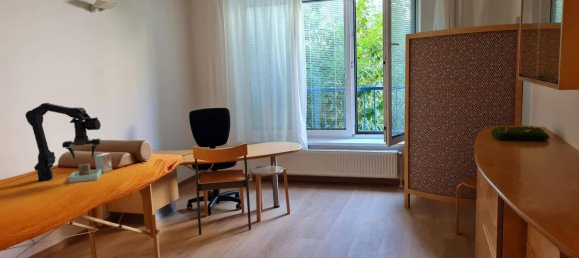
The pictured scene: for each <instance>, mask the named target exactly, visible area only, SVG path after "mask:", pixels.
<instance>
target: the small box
mask: <svg viewBox="0 0 579 258" xmlns="http://www.w3.org/2000/svg"><path fill="white" fill-rule="evenodd" d="M94 164H95V170H98V169H101V174H106V173H108V172H112V171H113V163H112V154H111V152H110V153H107V152H105V153H100V154H97V155H94ZM111 170H112V171H111Z"/></svg>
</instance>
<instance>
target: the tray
mask: <svg viewBox="0 0 579 258" xmlns="http://www.w3.org/2000/svg"><path fill="white" fill-rule="evenodd" d="M90 171H91V175H84V176H79V170H78V171H73V172H72V173H71V174H70V175H69V176H68V177H67V178H68V180H67V181H68V183H69V184H71V183H80V182H81V183H82V182H89V181H98V180H99V178H101V176H100V175H102V173H101V169H98V170H96V169H90Z"/></svg>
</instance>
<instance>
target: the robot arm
mask: <svg viewBox="0 0 579 258" xmlns="http://www.w3.org/2000/svg"><path fill="white" fill-rule="evenodd" d="M48 112H52V113H57V114H62V115H66V116H67V117H69V118H71V120H70V121H69V123H70V124H73V126H74V127H73V129H74V139H73V141H72V140H66V141H63V142H62V143H61V145H62V146H61V147H62V148H64V149H66V150H68V151H69V152H70V154H71V156H72V157H73V160H76V155H75V154H76V153H75V148H74V146H77V147H78V146H84V145H91V158H93V159H94V157H95V151H96V149H97V147H98V146H99V145H101V143H102V139H101V138H92V139H91V140H90V138H89V136H88V133H87V131H97V130H98V131H99V130H100V129H101V122H100V120H99V118H98V117H91V116H90V115H89V114H88V113H87V111H86V109H85V108H84V107H69V106H63V105H60V104H59V105H58V104H54V103H50V102H43V103H41V104H39V106H36V107H35V108H33V109H30V110H27V111H26V113H25V118H26V121H27V123H28V124H29V126H31V128H32V132H33V135H34V138H35V142H36V146H37V149H38V155H37V163H36V164H35V165H34V168H33V169H34V170H35V171H36V173H37V178H38V179H37V182H44V181H51V180H52V179H54V173H53V170H52V168H53V166H54V164H55V162H56V159H57V158H56V155H55V152H54V151H51V150H50V149H49V146H48V142H47V138H46V134H45V130H44V126H43V122H44V116H45V115H46V114H47V113H48Z"/></svg>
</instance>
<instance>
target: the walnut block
mask: <svg viewBox="0 0 579 258" xmlns="http://www.w3.org/2000/svg"><path fill="white" fill-rule="evenodd" d="M77 167H78V171H79V176H84V175H91V171H90V170H91V163H82V164H79V165H78V166H77Z"/></svg>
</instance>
